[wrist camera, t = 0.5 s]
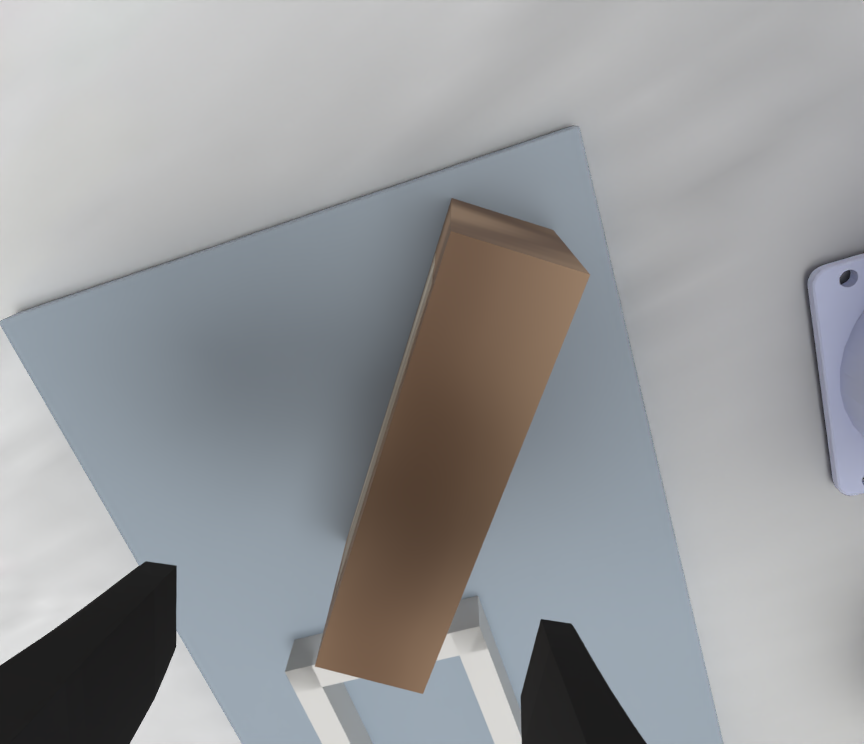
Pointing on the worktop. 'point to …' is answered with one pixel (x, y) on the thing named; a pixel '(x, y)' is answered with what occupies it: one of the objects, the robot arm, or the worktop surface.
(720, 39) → the worktop surface
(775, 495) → the worktop surface
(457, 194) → the wall board
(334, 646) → the wooden block
